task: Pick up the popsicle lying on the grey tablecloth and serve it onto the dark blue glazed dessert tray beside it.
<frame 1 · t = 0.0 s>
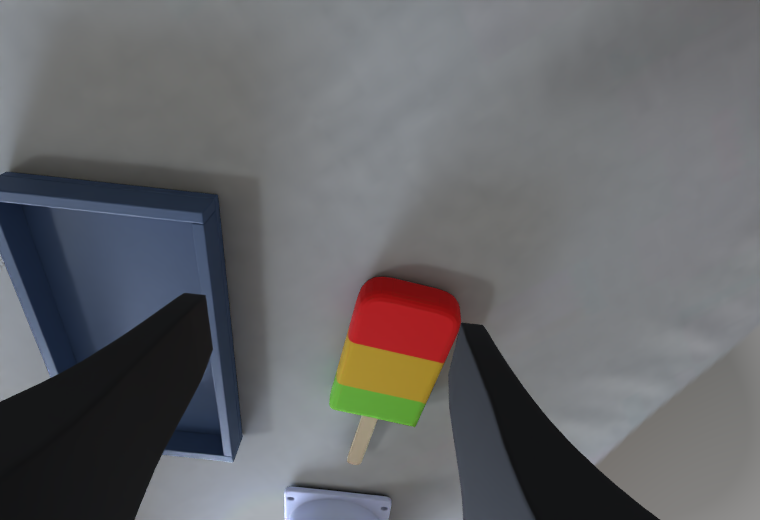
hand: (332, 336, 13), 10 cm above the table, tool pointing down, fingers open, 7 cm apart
popsicle: (381, 375, 28), on the table
tray: (146, 327, 27), on the table
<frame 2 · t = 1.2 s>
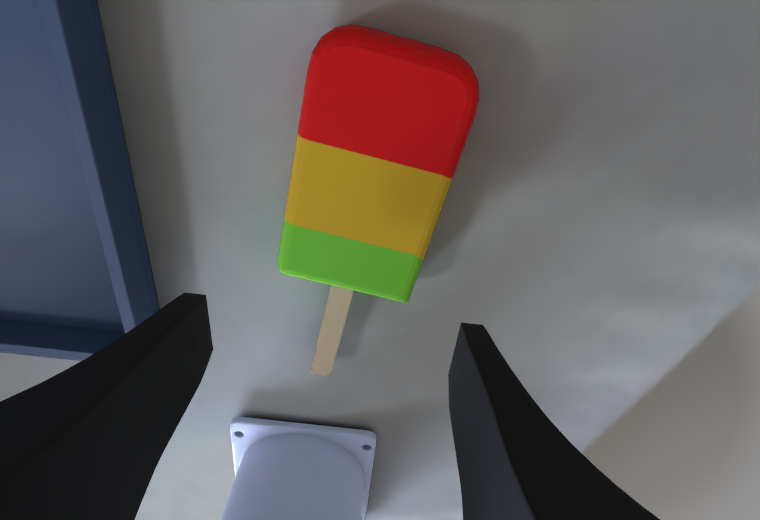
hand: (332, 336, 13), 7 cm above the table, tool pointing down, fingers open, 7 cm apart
popsicle: (356, 229, 19), on the table
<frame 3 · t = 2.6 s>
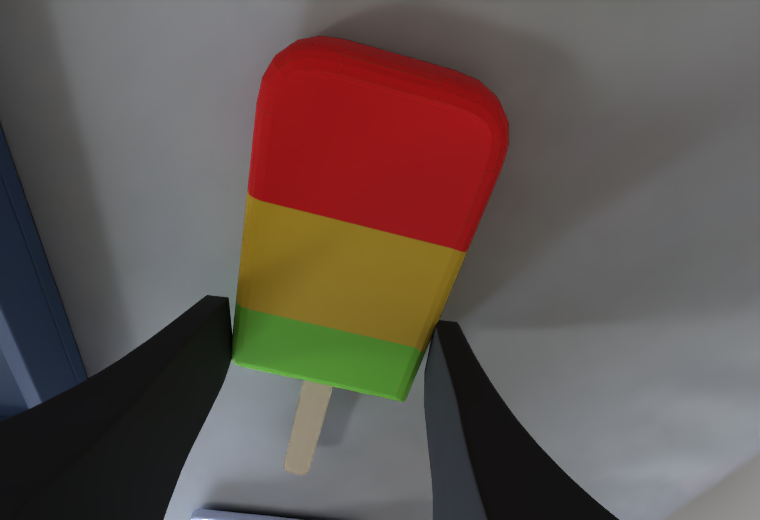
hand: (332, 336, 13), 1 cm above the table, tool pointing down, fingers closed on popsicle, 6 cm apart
popsicle: (337, 302, 14), on the table, touching gripper
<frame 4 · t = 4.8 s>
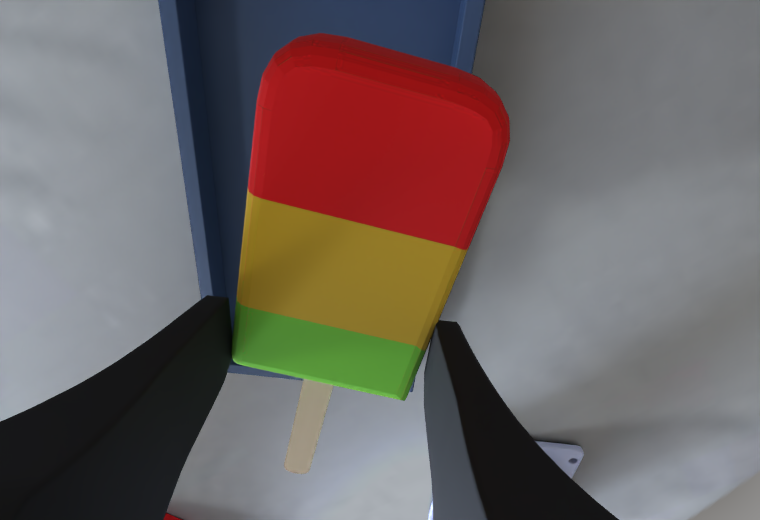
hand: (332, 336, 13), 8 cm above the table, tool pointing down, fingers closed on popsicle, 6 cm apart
popsicle: (338, 300, 14), point 7 cm above the table, touching gripper
tray: (322, 200, 20), on the table
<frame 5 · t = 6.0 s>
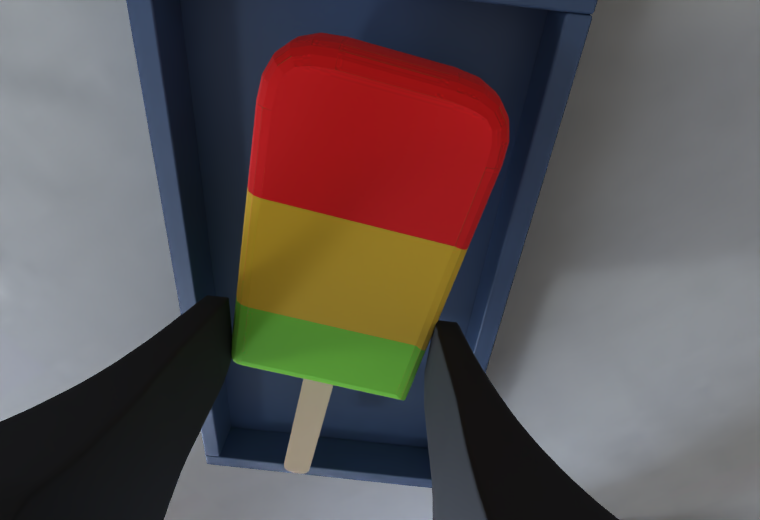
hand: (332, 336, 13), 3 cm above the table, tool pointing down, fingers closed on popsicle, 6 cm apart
popsicle: (338, 300, 14), point 2 cm above the table, touching gripper
tray: (346, 269, 16), on the table
when the fingers open (2 cm above the table, at t = 7.1 s): popsicle stays where it is, resting on tray.
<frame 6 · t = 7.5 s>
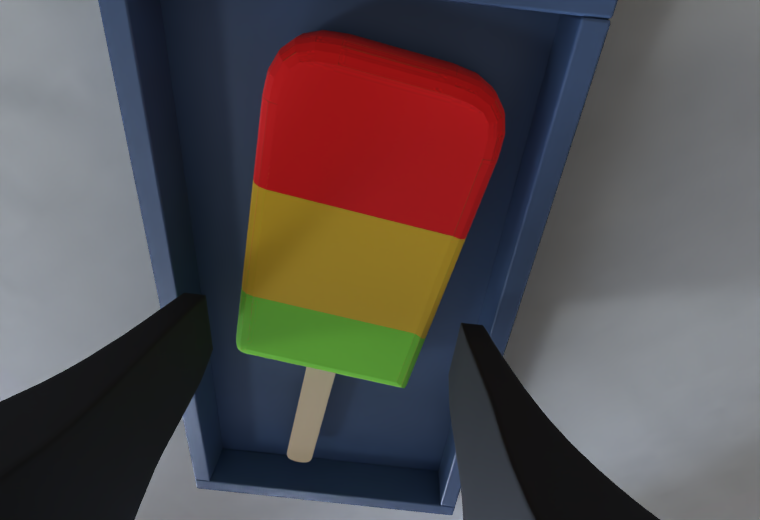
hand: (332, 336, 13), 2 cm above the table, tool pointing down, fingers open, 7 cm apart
popsicle: (340, 291, 15), resting on tray
tray: (342, 287, 15), on the table
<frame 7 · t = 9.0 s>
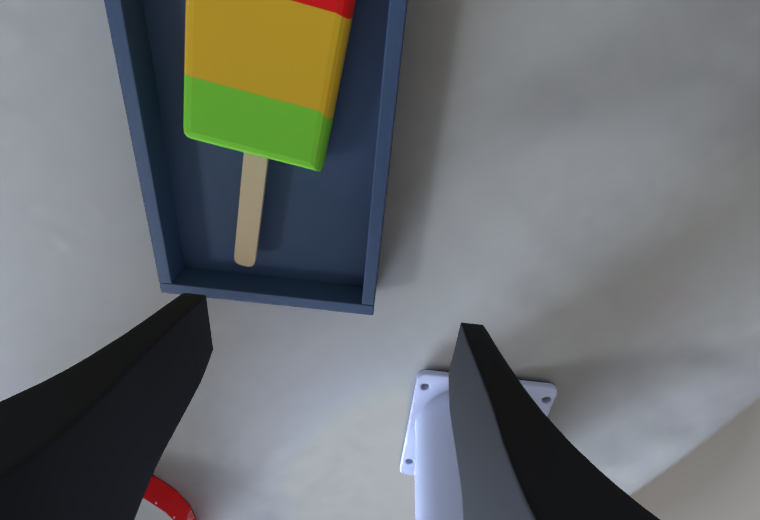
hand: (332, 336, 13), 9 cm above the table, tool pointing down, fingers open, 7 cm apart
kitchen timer: (109, 507, 37), on the table
popsicle: (268, 99, 19), resting on tray
tray: (271, 99, 19), on the table
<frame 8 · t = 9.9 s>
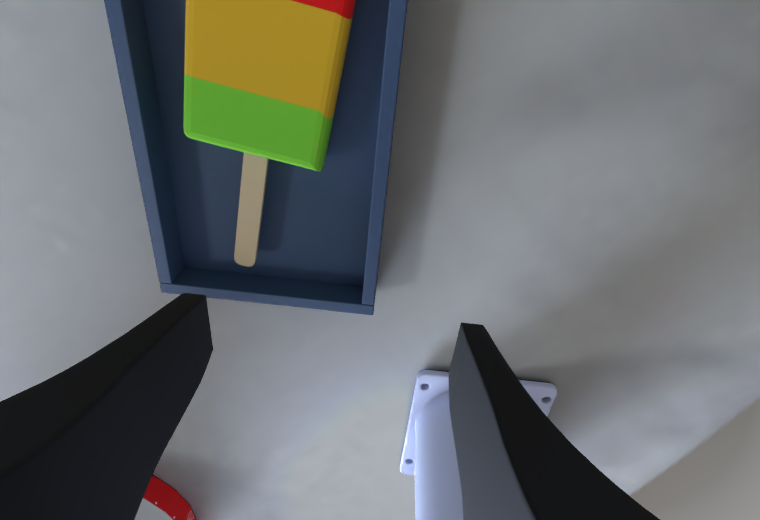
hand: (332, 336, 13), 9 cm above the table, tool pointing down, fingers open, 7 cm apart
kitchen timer: (109, 507, 37), on the table
popsicle: (268, 99, 19), resting on tray
tray: (271, 99, 19), on the table
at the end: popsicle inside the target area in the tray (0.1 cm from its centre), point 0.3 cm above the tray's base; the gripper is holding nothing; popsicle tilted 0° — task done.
